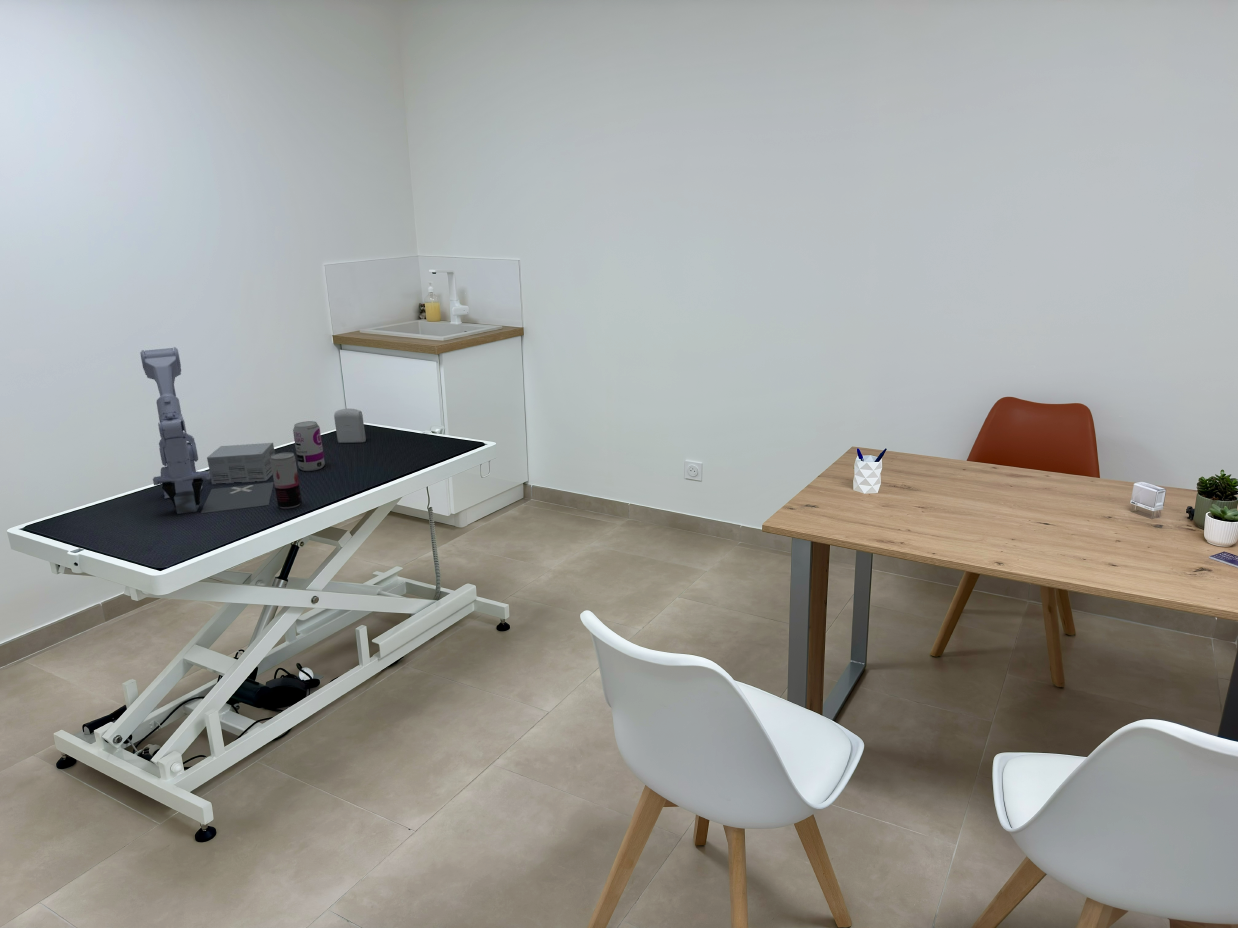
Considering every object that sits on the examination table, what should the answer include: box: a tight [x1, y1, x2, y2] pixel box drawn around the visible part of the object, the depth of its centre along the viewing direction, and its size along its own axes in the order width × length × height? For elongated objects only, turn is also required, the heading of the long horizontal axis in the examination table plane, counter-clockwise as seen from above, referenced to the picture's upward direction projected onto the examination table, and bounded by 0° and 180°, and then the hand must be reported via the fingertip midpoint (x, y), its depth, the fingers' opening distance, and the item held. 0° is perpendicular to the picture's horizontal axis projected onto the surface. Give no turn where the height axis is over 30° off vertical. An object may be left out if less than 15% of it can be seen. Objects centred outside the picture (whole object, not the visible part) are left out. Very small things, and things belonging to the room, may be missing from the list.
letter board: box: [200, 481, 275, 515], centre depth 252 cm, size 18×22×1 cm
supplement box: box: [206, 442, 276, 485], centre depth 270 cm, size 17×13×9 cm
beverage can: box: [271, 452, 303, 509], centre depth 242 cm, size 6×6×15 cm
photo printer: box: [333, 408, 367, 444], centre depth 306 cm, size 10×4×12 cm, turn 85°
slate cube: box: [174, 490, 200, 515], centre depth 242 cm, size 5×5×5 cm
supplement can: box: [292, 420, 326, 472], centre depth 276 cm, size 8×8×15 cm
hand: (187, 505), depth 242 cm, fingers closed on slate cube, 5 cm apart
